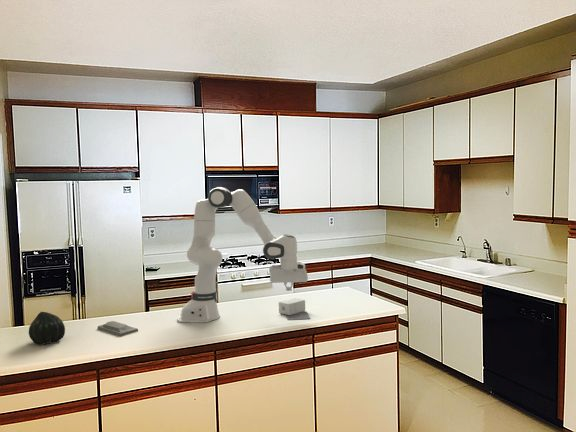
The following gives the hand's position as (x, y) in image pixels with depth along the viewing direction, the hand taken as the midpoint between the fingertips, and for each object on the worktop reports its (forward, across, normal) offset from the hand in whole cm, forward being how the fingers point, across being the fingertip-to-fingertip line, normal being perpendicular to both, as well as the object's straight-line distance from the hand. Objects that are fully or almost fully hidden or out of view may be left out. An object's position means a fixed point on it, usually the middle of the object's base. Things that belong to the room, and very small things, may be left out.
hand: (288, 290), depth 249 cm
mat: (+14, +5, 0) cm, 15 cm away
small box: (+11, -3, +3) cm, 11 cm away
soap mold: (+17, -87, -9) cm, 89 cm away
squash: (+18, -116, -22) cm, 119 cm away
